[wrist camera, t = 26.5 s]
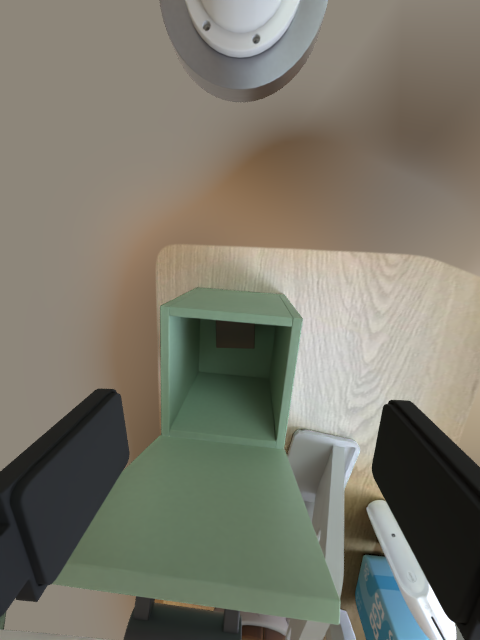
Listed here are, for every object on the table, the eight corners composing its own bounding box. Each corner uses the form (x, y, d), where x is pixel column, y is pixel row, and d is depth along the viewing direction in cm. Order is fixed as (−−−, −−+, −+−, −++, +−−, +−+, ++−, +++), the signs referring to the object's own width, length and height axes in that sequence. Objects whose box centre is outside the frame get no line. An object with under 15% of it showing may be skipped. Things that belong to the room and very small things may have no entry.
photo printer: (360, 503, 39) (406, 611, 27) (386, 494, 38) (445, 602, 26) (384, 546, 41) (437, 665, 29) (409, 539, 40) (474, 657, 28)
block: (220, 303, 32) (215, 310, 27) (255, 303, 31) (255, 311, 27) (221, 336, 33) (216, 348, 28) (254, 336, 32) (254, 349, 28)
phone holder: (326, 525, 41) (379, 725, 23) (267, 512, 41) (276, 701, 23) (360, 441, 36) (457, 611, 19) (294, 426, 36) (329, 582, 19)
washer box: (196, 287, 32) (159, 305, 20) (284, 294, 31) (303, 318, 19) (194, 373, 35) (160, 436, 23) (273, 381, 35) (283, 449, 22)
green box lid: (31, 558, 9) (0, 728, 8) (341, 601, 9) (334, 785, 8) (159, 435, 22) (151, 497, 22) (284, 448, 22) (280, 513, 21)
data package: (363, 549, 41) (405, 662, 30) (390, 552, 41) (443, 667, 30) (353, 596, 44) (387, 716, 33) (378, 599, 44) (422, 720, 33)
